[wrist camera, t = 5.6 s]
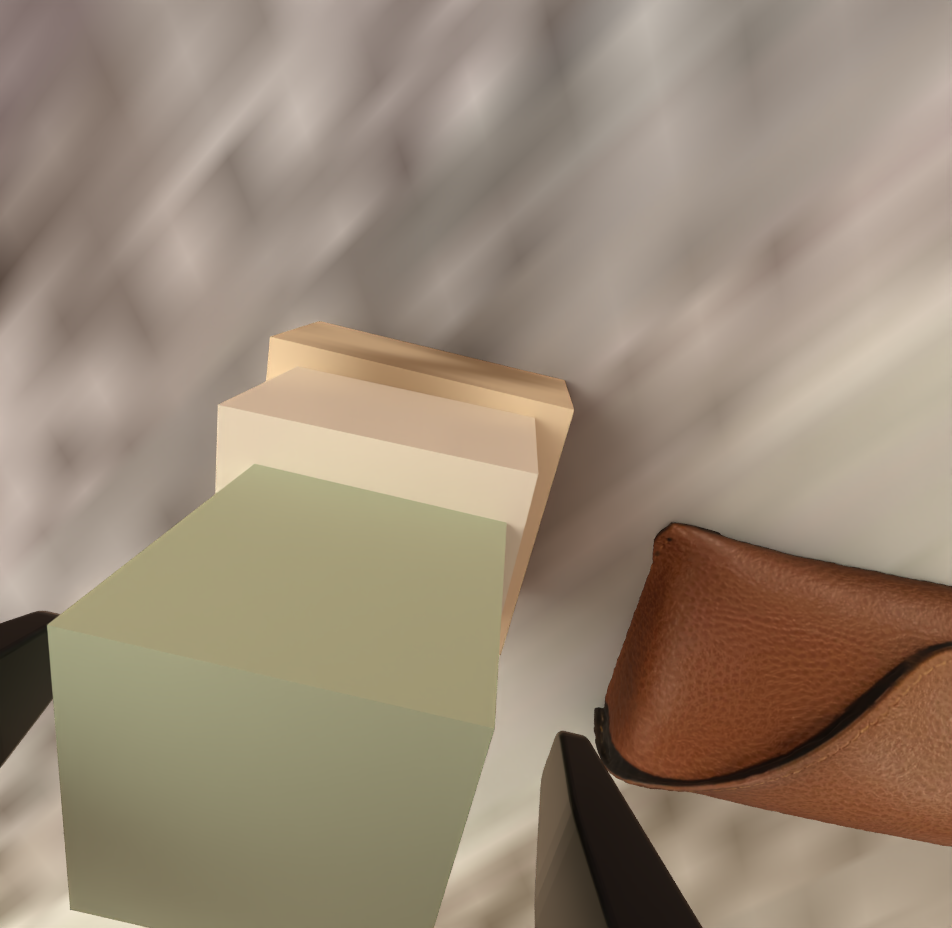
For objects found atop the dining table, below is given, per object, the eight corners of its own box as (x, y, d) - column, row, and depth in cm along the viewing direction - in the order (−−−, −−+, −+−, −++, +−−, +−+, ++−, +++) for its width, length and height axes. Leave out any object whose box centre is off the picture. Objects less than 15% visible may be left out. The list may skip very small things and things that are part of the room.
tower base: (564, 378, 16) (574, 410, 12) (504, 583, 18) (500, 654, 15) (323, 319, 16) (270, 336, 12) (297, 533, 18) (247, 594, 15)
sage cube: (454, 715, 11) (414, 988, 7) (238, 665, 11) (69, 909, 7) (507, 522, 10) (495, 728, 5) (255, 464, 10) (47, 625, 5)
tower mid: (534, 417, 13) (538, 474, 9) (485, 615, 15) (474, 719, 11) (297, 366, 13) (217, 404, 9) (280, 570, 15) (210, 661, 11)
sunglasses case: (1267, 613, 16) (1496, 905, 12) (1049, 685, 22) (1154, 902, 17) (649, 512, 16) (664, 759, 12) (591, 608, 22) (588, 801, 18)
